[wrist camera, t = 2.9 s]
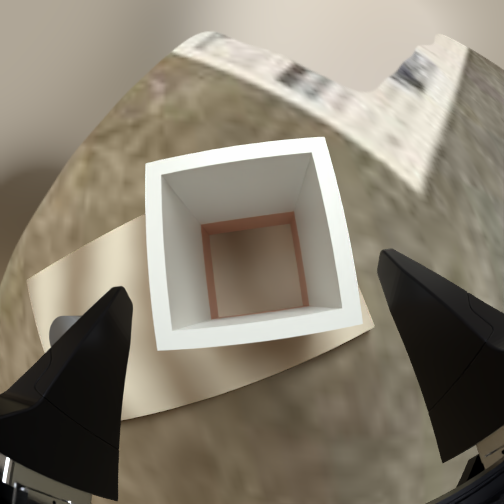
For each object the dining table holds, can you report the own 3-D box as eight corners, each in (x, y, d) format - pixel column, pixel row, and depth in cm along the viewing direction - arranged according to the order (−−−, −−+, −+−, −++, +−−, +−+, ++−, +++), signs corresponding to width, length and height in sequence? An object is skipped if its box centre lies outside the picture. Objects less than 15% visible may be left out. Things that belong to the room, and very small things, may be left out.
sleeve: (297, 213, 18) (324, 137, 9) (313, 313, 17) (362, 323, 8) (199, 227, 18) (145, 163, 9) (210, 327, 17) (157, 350, 8)
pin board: (291, 158, 20) (296, 128, 16) (369, 325, 17) (394, 330, 14) (33, 281, 19) (2, 276, 15) (81, 424, 17) (54, 439, 13)
